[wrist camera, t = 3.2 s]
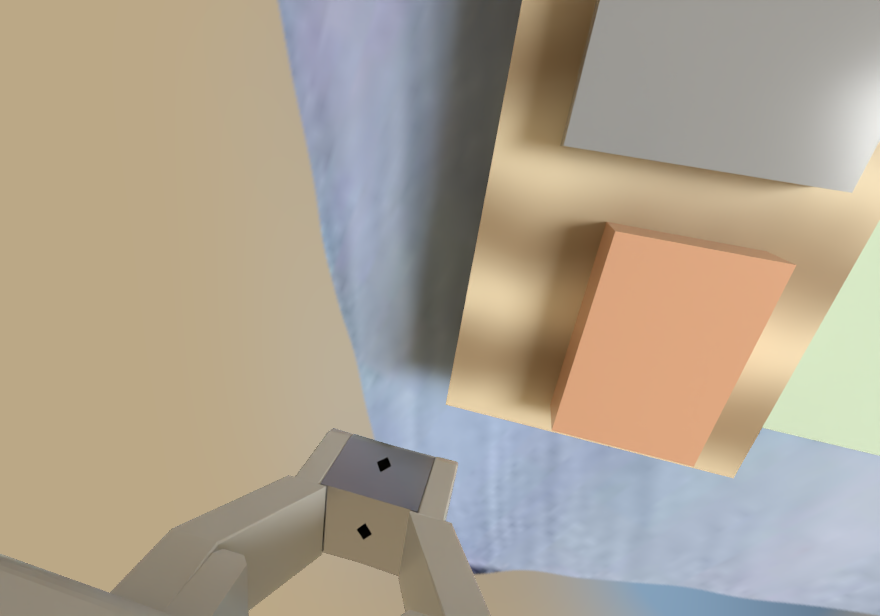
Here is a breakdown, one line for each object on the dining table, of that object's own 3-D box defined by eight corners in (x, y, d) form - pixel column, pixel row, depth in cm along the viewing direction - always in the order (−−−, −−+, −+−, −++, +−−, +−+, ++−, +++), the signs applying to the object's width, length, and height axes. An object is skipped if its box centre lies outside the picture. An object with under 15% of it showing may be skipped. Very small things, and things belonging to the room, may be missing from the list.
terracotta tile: (606, 221, 17) (615, 231, 15) (766, 251, 16) (796, 265, 14) (550, 404, 20) (551, 430, 18) (678, 436, 19) (693, 466, 18)
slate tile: (560, 145, 16) (563, 145, 14) (607, -47, 14) (619, -76, 12) (813, 186, 15) (851, 193, 13) (912, -17, 13) (976, -44, 11)
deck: (538, -43, 17) (539, -92, 14) (915, -4, 15) (1031, -49, 12) (458, 366, 25) (445, 404, 22) (702, 426, 23) (733, 478, 20)
